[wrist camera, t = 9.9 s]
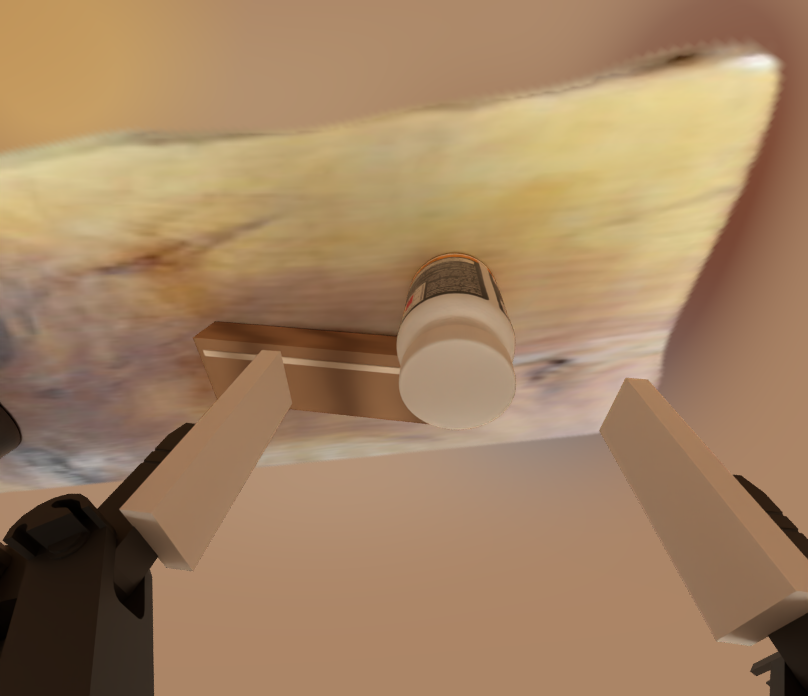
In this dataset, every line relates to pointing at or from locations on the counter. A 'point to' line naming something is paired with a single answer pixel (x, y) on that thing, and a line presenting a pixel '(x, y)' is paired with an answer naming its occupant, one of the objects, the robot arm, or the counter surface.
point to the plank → (313, 367)
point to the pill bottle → (456, 345)
